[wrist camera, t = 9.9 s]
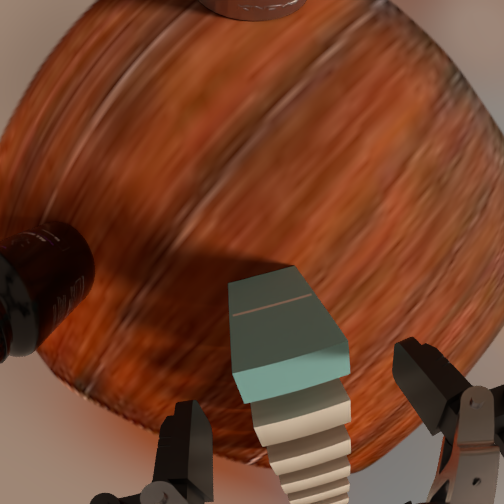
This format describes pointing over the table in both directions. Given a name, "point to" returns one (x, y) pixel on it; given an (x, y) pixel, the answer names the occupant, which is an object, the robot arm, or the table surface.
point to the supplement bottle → (40, 284)
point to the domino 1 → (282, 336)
